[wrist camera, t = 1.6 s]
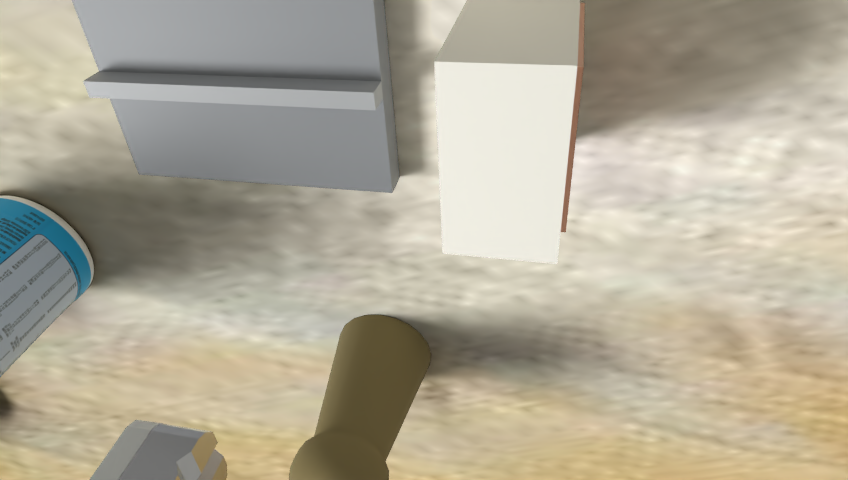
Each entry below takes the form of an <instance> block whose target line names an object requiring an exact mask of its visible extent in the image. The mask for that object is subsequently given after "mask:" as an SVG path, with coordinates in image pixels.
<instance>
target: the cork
mask: <svg viewBox="0 0 848 480" xmlns="http://www.w3.org/2000/svg"><path fill="white" fill-rule="evenodd" d="M430 359H431V352H430V349H429V345H428V343H427V342H426V340H425V339H424V338H423V336H422V335H421V334H420V333H419V332H418V331H417V330H415V329H414V328H413V327H412V326H410V325H409V324H407V323H404V322H402V321H400V320H398V319H396V318H392V317H388V316H383V315H364V316H361V317H357V318H354V319H353V320H351V321H350V322H349V323H347V324H346V325H345V326H344V328H343V330H342V332H341V334H340V338H339V342H338V346H337V350H336V354H335V358H334V361H333V365H332V369H331V373H330V377H329V381H328V385H327V389H326V393H325V397H324V400H323V404H322V408H321V412H320V416H319V420H318V424H317V428H316V432H315V435H314V437H312V438H311V439H309V440H307V441H306V442H305V443H304V444H303V445H302V447H301V448H300V449H299V451H298V453H297V454H296V456H295V458H294V460H293V462H292V465H291V467H290V473H289V480H389V470H388V467H387V464H386V462H385V461H386V459H387V457H388V455H389V452H390V450H391V448H392V446H393V444H394V441H395V439H396V437H397V435H398V433H399V430H400V428H401V426H402V424H403V422H404V419H405V417H406V415H407V413H408V411H409V409H410V406H411V404H412V402H413V400H414V398H415V395H416V393H417V391H418V389H419V387H420V384H421V382H422V380H423V378H424V376H425V373H426V371H427V369H428V367H429V365H430Z"/></svg>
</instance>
